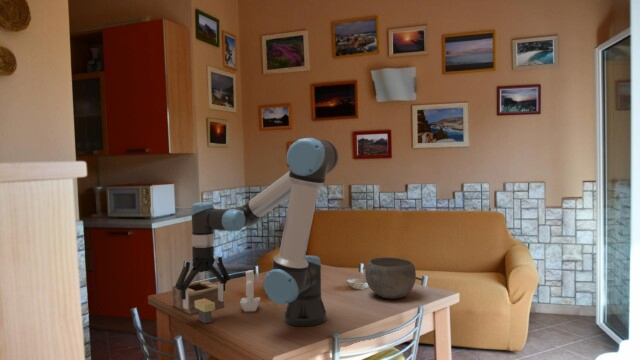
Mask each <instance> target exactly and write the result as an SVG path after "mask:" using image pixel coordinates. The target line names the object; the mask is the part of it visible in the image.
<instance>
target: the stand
mask: <svg viewBox="0 0 640 360" xmlns="http://www.w3.org/2000/svg"><path fill="white" fill-rule="evenodd" d="M198 321H200V322H202V323H204V324H209V323H212V311H209V312H203V311H201V310H199V313H198Z"/></svg>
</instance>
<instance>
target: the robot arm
mask: <svg viewBox="0 0 640 360" xmlns="http://www.w3.org/2000/svg"><path fill="white" fill-rule="evenodd" d="M286 153H287V154H286V164H287V166H288V168H289V170H288V171H287V172H286V173H285V174H284V175H282V176H281V177H279V178H278V179H277V180H275V181H274V182H272V183H271V184H270V185H268V186H267V187H266V188H265V189H263V190H262V191H260V192H259V193H258V194H257V195H255V196H254V197H252V198H251V199H250V200H249V201H248V202H246V203H244V204H243V205H241V206H238V207H237V206H236V207H231V208H215V207H214V203H213V202H207V201H204V202H203V201H200V202H195V203H193V204H192V205H191V206H192V207H191V227H192V229H191V230H192V231H191V244H192V249H191V251H192V253H191V255H192V257H191V258H192V260H191V261H187V260H185V261H183V267H182V270H181V271H180V274H179V276H178V278H177V281H176V283H175V285H174V286H175V288H176V289H178V290H180V291H181V299H182V300H183V308H185V309H188V290H186V289H187V287H188V286H189V284H190V283H193V280H194V278H195V277H196V276H197V275H198V274H199V273H204V272H209V271H210V272H211V273H212V274H213V276H214V277H215V278H216V279H217V280H218V281H219V282H217V285H218V300H219V301H221V302H222V301H223V292H225V291H226V284H227V283H228V281H230V280H231V278H230V275H229V273H228V271H227V269H226V267H225V265H224V264H223V258H222V256H219V255H217V256H216V257H214V255H215V254H214V253H215V247H214V244H215V242H214V241H215V240H214V239H215V238H214V237H215V235H214V233H215V231H225V232H230V233H231V232H238V231H241V230H242V229H243V228H244V227H250V226H253V225H256V224H257V223H259V222H260V220H261V218H262V217H263V216H265V215H267V214H268V213H269V212H271V211H272V210H273V209H275V208H276V207H277V206H279V205H280V204H282V203H283V202H284V201H286V200H287V199H288V198H289V199H288V206H287V211H286V215H285V220H284V221H285V222H284V227H283V231H282V237H281V241H280V242H281V243H280V248H279V251H278V252H279V253H278V254H277V255H275V256H274V257H273V260H272V266H271V269H270V270H269V271H268V272H267V273H266V275H265V276H264V278H263V288H264V291H265V294H266V295H267V297H268V298H269V299H270V301H272V302H274V303H276V304H278V305H286V307H285V312H284V315H283V317H284V318H283V319H284V320H283V321H284V322H285V323H286V324H288V325H290V326H295V327H313V326H316V325H321V324H323V323H325V322H326V320H327V310H326V308H325V305H324V301H323V298H322V271H321V270H322V264H321V259H320V256H317V255H308V254H306V253H307V249H308V245H309V239H310V234H311V228H312V224H313V220H314V218H313V217H314V214H315V207H316V203H317V197H318V193H319V188H320V187H321V186H324V184H325V181H326V177H327V175H328V174H329V173H330V174H331V172H332V171H334V170H335V169H336V167H337V166H338V162H339V151H338V149H337V147H336V146H335V144H334V143H332V142H331V141H328V140H326V139H319V138H314V137H305V138H300V139H297V140H296V141H295V142H293V143H292V144H291V145H290V146H289V147H288V149H287V152H286ZM214 264H216V265H217V267H218V270H219V271H220V272H219V271H217V269H216V267H215V266H214ZM191 267H192V268H191ZM190 268H191V270H190ZM189 271H190V272H189ZM188 273H189V274H188Z"/></svg>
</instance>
